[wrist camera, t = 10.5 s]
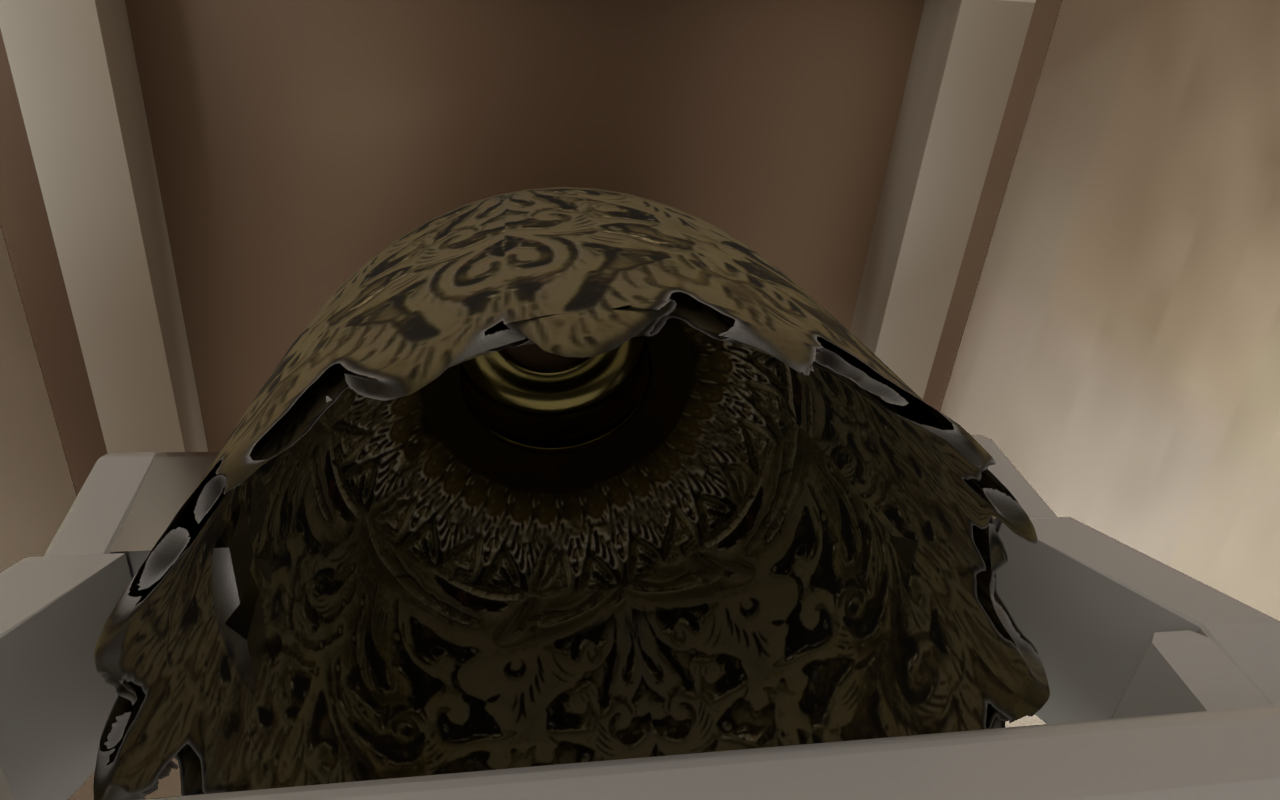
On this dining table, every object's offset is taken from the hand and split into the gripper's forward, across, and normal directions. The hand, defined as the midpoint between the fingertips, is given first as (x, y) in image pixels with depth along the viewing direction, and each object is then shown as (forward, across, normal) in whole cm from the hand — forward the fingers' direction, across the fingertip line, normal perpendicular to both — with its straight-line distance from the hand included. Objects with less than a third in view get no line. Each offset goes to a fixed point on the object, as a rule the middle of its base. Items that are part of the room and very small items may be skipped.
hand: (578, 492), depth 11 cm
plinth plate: (+6, 0, 0) cm, 6 cm away
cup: (+4, 0, 0) cm, 4 cm away
